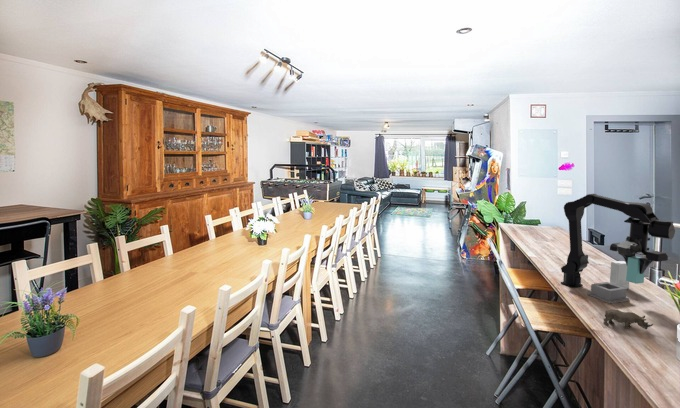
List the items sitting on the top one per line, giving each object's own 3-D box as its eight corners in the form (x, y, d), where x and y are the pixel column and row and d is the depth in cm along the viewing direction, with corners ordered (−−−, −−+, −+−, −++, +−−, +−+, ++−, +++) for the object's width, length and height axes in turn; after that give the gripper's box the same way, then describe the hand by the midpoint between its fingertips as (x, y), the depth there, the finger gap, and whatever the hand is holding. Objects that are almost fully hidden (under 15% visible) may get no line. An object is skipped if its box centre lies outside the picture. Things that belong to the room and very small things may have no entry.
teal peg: (626, 280, 148) (627, 257, 147) (633, 279, 149) (635, 256, 148) (636, 283, 144) (638, 259, 143) (643, 282, 145) (645, 258, 144)
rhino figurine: (653, 335, 121) (654, 318, 120) (603, 325, 129) (604, 309, 128) (652, 330, 124) (653, 313, 124) (603, 321, 132) (604, 305, 132)
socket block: (587, 294, 157) (588, 283, 156) (605, 292, 159) (606, 281, 158) (610, 303, 147) (610, 291, 146) (628, 300, 149) (629, 288, 149)
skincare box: (620, 285, 166) (622, 260, 164) (629, 289, 161) (631, 262, 160) (608, 286, 165) (610, 261, 164) (617, 290, 161) (618, 263, 159)
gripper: (600, 231, 151) (598, 267, 153) (648, 241, 133) (644, 282, 135) (621, 229, 154) (618, 264, 156) (670, 239, 136) (666, 278, 138)
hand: (635, 272), depth 146 cm, fingers closed on teal peg, 4 cm apart
